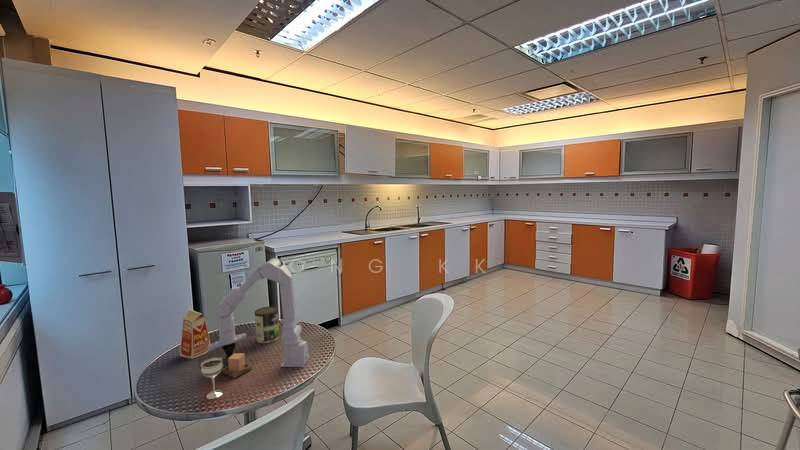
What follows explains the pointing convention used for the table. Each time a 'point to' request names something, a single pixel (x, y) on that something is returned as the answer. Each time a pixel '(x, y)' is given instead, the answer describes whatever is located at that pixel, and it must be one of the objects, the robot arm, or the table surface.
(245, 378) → the table surface
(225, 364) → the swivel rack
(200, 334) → the milk carton
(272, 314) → the coffee can
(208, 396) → the wineglass
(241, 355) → the block
